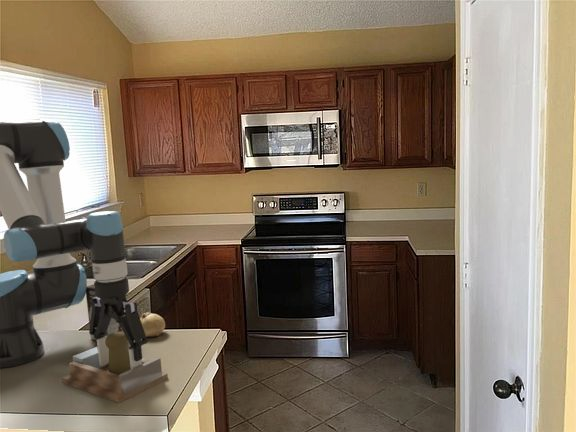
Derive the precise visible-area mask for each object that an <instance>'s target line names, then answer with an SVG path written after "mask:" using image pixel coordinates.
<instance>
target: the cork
mask: <svg viewBox="0 0 576 432" xmlns="http://www.w3.org/2000/svg"><path fill="white" fill-rule="evenodd" d="M105 344H106V346H107V348H108V349H109V372H111V373H114V374H117V375H120V374H122V373H124V372H126V371H128V370H131V367H130V358H129V347H128V344H129V342H128V340H127V338H126V336H125V334H124V332H114V333H111V334H109V335H108V336H107V337H106V340H105Z"/></svg>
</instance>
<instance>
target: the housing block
mask: <svg viewBox="0 0 576 432" xmlns="http://www.w3.org/2000/svg"><path fill="white" fill-rule="evenodd" d="M74 361H76V362H79V363H82V364H85V365H89V366H92V367H95V368H98V369H99V368H101V367H104V366H106V365H108V364H105V365H103V366H100V363H99V355H98V349H97V346H96V347H93V348H90V349H88V350H86V351H83V352H80V353H77V354H75V355H72V362H74Z"/></svg>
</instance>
